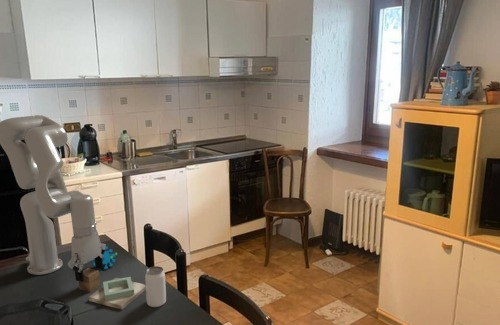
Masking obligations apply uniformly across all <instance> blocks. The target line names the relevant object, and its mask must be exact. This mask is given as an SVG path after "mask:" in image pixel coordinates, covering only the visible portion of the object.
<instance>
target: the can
mask: <svg viewBox="0 0 500 325" xmlns="http://www.w3.org/2000/svg"><path fill="white" fill-rule="evenodd" d="M144 277H145V278H144V280H145V285H146V290H145V295H146V298H145V299H146V304H147V306H149V307H152V308H159V307H162V306H164V305H165V303H166V301H167V290H166V289H167V288H166V273H165V271H164V268H163V267H162V266H157V265H156V266H151V267H148V268H147V269H146V271H145V276H144Z"/></svg>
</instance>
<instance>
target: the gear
mask: <svg viewBox="0 0 500 325" xmlns="http://www.w3.org/2000/svg"><path fill="white" fill-rule="evenodd" d="M108 248H109V247H108V246H107V245H106V246H105V249H104V250H105V252H104V254H103V256H104V257H103V258H102V259H103V270H106V271H107V270H108V267H109V268H112V267H113V266H114V265H113V264H114V263H115V262H116V259H115V258H116V257H117V255H118V252H114V253H113V251H114V250H113V249H112V248H110V249H109V250H108ZM90 262H91V263H92V262H93V263H92V266H93V267H94V268H96V267H95V258H94V259H93V260H91V261H90Z"/></svg>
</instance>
